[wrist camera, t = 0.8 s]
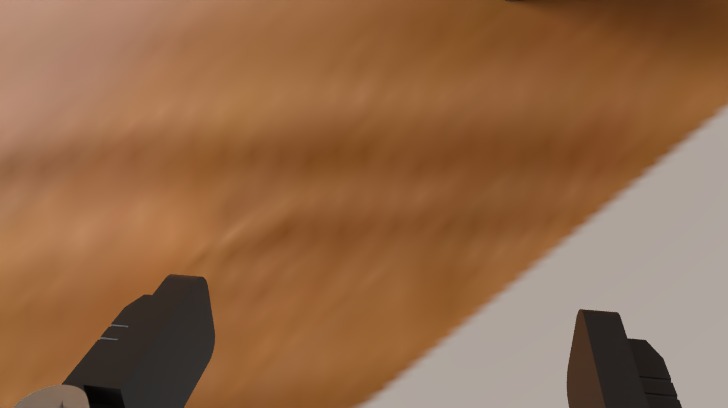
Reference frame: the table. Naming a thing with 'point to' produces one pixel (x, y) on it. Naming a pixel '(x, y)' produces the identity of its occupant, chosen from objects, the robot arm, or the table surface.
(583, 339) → the robot arm
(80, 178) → the table surface
